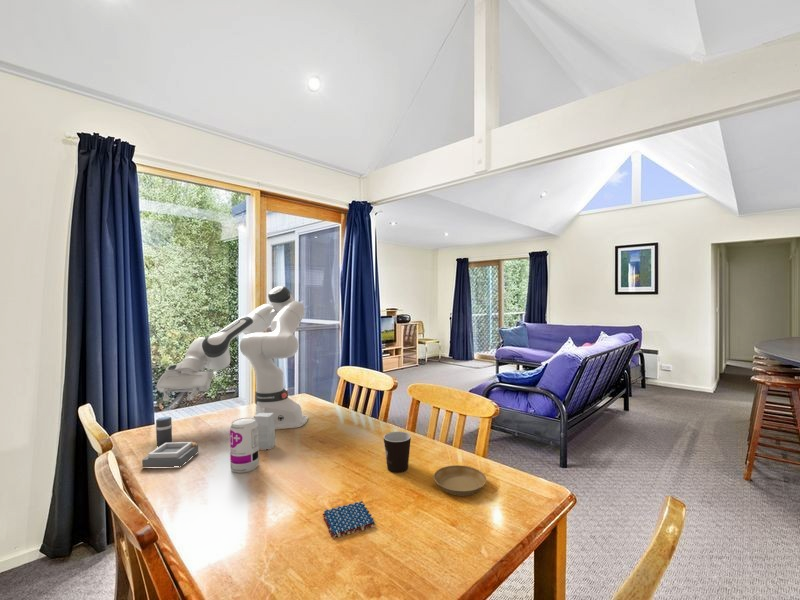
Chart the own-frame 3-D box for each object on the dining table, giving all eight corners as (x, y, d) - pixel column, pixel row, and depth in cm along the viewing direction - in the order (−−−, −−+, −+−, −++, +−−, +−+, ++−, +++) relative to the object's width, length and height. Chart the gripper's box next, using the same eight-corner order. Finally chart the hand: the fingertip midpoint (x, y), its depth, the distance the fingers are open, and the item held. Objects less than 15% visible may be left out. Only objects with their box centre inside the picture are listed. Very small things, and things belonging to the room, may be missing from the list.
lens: (175, 443, 140) (174, 416, 140) (167, 448, 135) (166, 420, 135) (161, 443, 140) (161, 416, 140) (153, 449, 135) (152, 420, 135)
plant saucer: (475, 506, 96) (475, 496, 96) (424, 491, 103) (424, 481, 103) (493, 481, 108) (493, 472, 108) (446, 469, 116) (446, 461, 116)
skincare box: (275, 445, 137) (274, 412, 136) (270, 450, 132) (269, 416, 132) (259, 444, 137) (258, 412, 137) (253, 449, 133) (253, 416, 133)
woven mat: (321, 517, 92) (321, 509, 92) (362, 506, 97) (362, 499, 97) (331, 542, 83) (331, 533, 83) (376, 529, 87) (376, 521, 87)
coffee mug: (408, 476, 112) (408, 442, 111) (380, 473, 113) (380, 441, 113) (415, 459, 123) (414, 428, 123) (389, 457, 125) (389, 427, 125)
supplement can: (239, 476, 113) (238, 427, 113) (225, 469, 118) (224, 422, 118) (263, 466, 119) (262, 420, 119) (249, 460, 124) (248, 415, 124)
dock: (198, 453, 131) (197, 440, 130) (180, 467, 120) (180, 454, 119) (163, 454, 130) (162, 441, 130) (142, 469, 119) (142, 455, 119)
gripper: (217, 374, 160) (206, 403, 150) (169, 375, 159) (155, 404, 149) (212, 365, 155) (200, 394, 146) (162, 367, 155) (147, 396, 145)
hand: (177, 399), depth 148 cm, fingers open, 8 cm apart
